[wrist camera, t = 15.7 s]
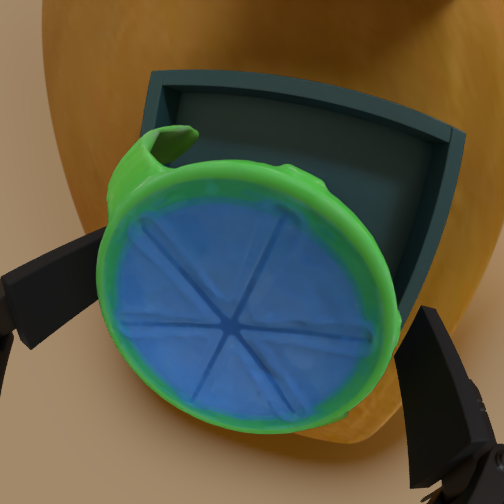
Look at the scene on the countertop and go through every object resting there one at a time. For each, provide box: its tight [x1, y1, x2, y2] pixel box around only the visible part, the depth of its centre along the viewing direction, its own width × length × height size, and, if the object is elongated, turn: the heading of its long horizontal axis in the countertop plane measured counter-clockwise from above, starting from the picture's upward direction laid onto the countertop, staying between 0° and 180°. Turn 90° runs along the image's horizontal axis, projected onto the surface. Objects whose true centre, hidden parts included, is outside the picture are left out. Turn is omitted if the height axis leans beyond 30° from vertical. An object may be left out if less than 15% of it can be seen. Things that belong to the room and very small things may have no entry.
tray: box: [140, 70, 466, 331], centre depth 17 cm, size 18×19×4 cm
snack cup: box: [96, 125, 402, 434], centre depth 13 cm, size 16×10×10 cm
